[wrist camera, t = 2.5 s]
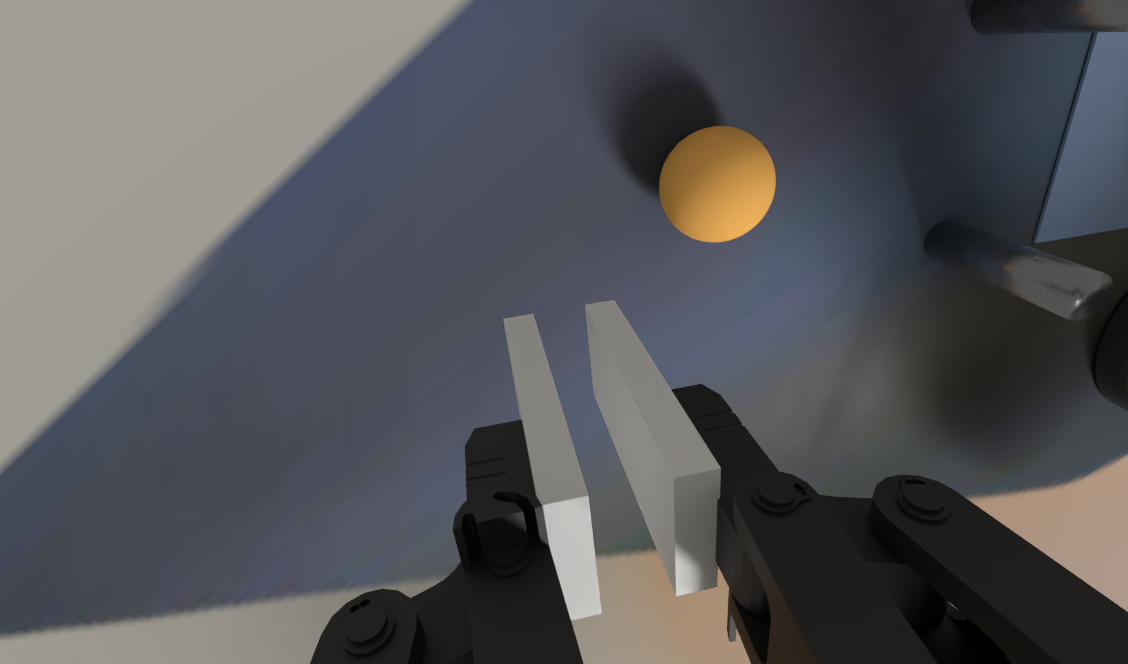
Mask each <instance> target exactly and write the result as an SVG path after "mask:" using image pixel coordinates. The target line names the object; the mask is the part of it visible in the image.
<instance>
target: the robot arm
mask: <svg viewBox="0 0 1128 664" xmlns="http://www.w3.org/2000/svg"><path fill="white" fill-rule="evenodd" d="M585 308H586V319H587V329H588V340H589V350H590V361H591V371H592V382H593V392H594V396H595V398H596V401H597V403H598V406H599V408H600V411H601V413H602V416H603V418H604V420H605V423H606V425H607V428H608V430H609V433H610V435H611V438H612V440H613V443H614V445H615V448H616V450H617V452H618V455H619V457H620V460H621V462H622V465H623V467H624V470H625V472H626V475H627V477H628V480H629V482H630V484H631V487H632V489H633V492H634V494H635V497H636V499H637V502H638V504H639V507H640V509H641V512H642V514H643V516H644V519H645V521H646V524H647V526H648V529H649V531H650V534H651V536H652V539H653V541H654V544H655V546H656V548H657V551H658V553H659V556H660V558H661V561H662V563H663V565H664V568H665V571H666V573H667V575H668V578H669V580H670V583H671V585H672V588H673V590H674V592H675V595H676V596H679V595H684V594H688V593H692V592H696V591H701V590H705V589H710V588H714V587H717V574H718V567H719V569H720V570H721V572H722V574H723V576H724V578H725V580H726V582H727V584H728V586H729V599H728V619H727V632H728V638H729V642H732V641H735V640H736V628H737V630H738V633H739V635H740V637H741V640H742V642H743V645H744V647H745V650H746V652H747V655H748V657H749V659H750V662H751V664H1128V612H1127V611H1125V610H1124V609H1123V608H1121V607H1120V606H1118V605H1117V604H1115V603H1114V602H1113V601H1111V600H1110V599H1108V598H1107V597H1106V596H1104V595H1103V594H1101V593H1100V592H1098V591H1097V590H1096V589H1094V588H1093V587H1091V586H1090V585H1088V584H1087V583H1085V582H1084V581H1083V580H1081V579H1080V578H1078V577H1077V576H1076V575H1074V574H1073V573H1071V572H1070V571H1068V570H1067V569H1066V568H1064V567H1063V566H1061V565H1060V564H1059V563H1057V562H1056V561H1054V560H1053V559H1051V558H1050V557H1049V556H1047V555H1046V554H1044V553H1043V552H1041V551H1040V550H1039V549H1037V548H1036V547H1034V546H1033V545H1032V544H1030V543H1029V542H1027V541H1026V540H1024V539H1023V538H1022V537H1020V536H1019V535H1017V534H1016V533H1014V532H1013V531H1011V530H1010V529H1009V528H1007V527H1006V526H1005V525H1003V524H1002V523H1000V522H999V521H997V520H996V519H994V518H993V517H992V516H990V515H989V514H987V513H986V512H984V511H983V510H982V509H980V508H979V507H977V506H976V505H975V504H973V503H972V502H970V501H969V500H968V499H966V498H965V497H963V496H962V495H960V494H959V493H958V492H956V491H955V490H953V489H951V488H949V487H947V486H945V485H944V484H942V483H940V482H938V481H934V480H931V479H928V478H924V477H921V476H913V475H897V476H892V477H887V478H885V479H884V480H882V481H881V482H880V483H878V484H877V485H876V488H875V491H874V494H873V498H872V499H871V498H849V497H832V496H824V495H819V494H818V493H817V492H816V491H815V490H814V489H813V488H812V487H811V486H810V485H809V484H808V483H807V482H805V481H803V480H801V479H799V478H798V477H796V476H794V475H792V474H788V473H783V472H779V471H778V470H777V468H776V467H775V466H774V464H773V463H772V462H771V460H770V459H769V458H768V457H767V455H766V454H765V453H764V451H763V450H762V449H761V447H760V446H759V445H758V443H757V442H756V441H755V440H754V438H753V437H752V436H751V434H750V433H749V432H748V430H747V429H746V428H745V426H742V423H741V421H740V420H739V419H738V417H737V416H736V415H735V413H732V409H731V408H730V407H729V406H728V404H727V403H726V402H725V400H724V399H723V398H722V396H721V395H719V394H718V393H716V392H714V391H713V390H711V389H709V388H707V387H706V386H704V385H702V384H698V385H693V386H688V387H683V388H677V389H672V390H671V389H670V387H669V386H668V384H667V382H666V381H665V379H664V378H663V376H662V375H661V373H660V371H659V370H658V368H657V367H656V365H655V364H654V362H653V360H652V359H651V357H650V356H649V354H648V352H647V351H646V349H645V348H644V346H643V345H642V343H641V341H640V340H639V338H638V337H637V335H636V334H635V332H634V330H633V329H632V327H631V326H630V324H629V323H628V321H627V319H626V318H625V316H624V315H623V313H622V312H621V310H620V308H619V307H618V305H617V304H616V302H615V300H611V301H605V302H599V303H593V304H587V305H585ZM503 320H504V326H505V332H506V338H507V343H508V349H509V355H510V361H511V367H512V372H513V378H514V384H515V390H516V396H517V402H518V407H519V413H520V418H521V420H518V421H513V422H507V423H502V424H497V425H492V426H486V427H481V428H476V429H474V431H473V432H472V434H471V436H470V438H469V440H468V442H467V444H466V445H465V461H466V481H467V483H466V489H467V501H466V502H465V503H463V505H462V506H461V508H460V509H459V511H458V512H457V514H456V515H455V519H454V525H453V532H454V536H455V540H456V544H457V547H458V551H459V555H460V558H461V562H460V564H459V565H458V566H457V568H456V569H455V570H454V571H453V572H452V573H451V574H450V575H449V576H448V577H447V578H446V579H444V580H443V581H441V582H440V583H438V584H436V585H435V586H433V587H431V588H429V589H428V590H426V591H424V592H422V593H420V594H418V595H416V596H414V597H412V598H409V597H407V596H406V595H404V594H403V593H401V592H400V591H398V590H388V589H379V590H375V591H371V592H367V593H364V594H362V595H360V596H358V597H356V598H355V599H353V600H351V601H349V602H347V603H346V604H345V605H344V606H343V607H342V608H341V609H340V610H339V611H338V612H337V613H335V614H334V615H333V616H332V617H331V619H330V621H329V623H328V624H327V626H326V628H325V629H324V631H323V633H322V634H321V637H320V639H319V642H318V645H317V647H316V650H315V652H314V655H313V657H312V660H311V662H310V664H583V661H582V657H581V654H580V650H579V647H578V643H577V640H576V636H575V633H574V630H573V626H572V623H571V620H575V619H580V618H584V617H588V616H593V615H597V614H601V604H600V595H599V587H598V579H597V578H598V577H597V569H596V560H595V551H594V542H593V533H592V524H591V515H590V506H589V497H588V493H587V490H586V486H585V483H584V480H583V476H582V473H581V470H580V466H579V463H578V460H577V457H576V453H575V450H574V447H573V443H572V440H571V437H570V434H569V430H568V427H567V424H566V420H565V417H564V414H563V410H562V407H561V404H560V401H559V397H558V394H557V391H556V387H555V384H554V381H553V377H552V374H551V371H550V368H549V364H548V361H547V358H546V354H545V351H544V348H543V345H542V341H541V338H540V335H539V331H538V328H537V325H536V321H535V318H534V315H533V314H529V315H523V316H517V317H511V318H505V319H503ZM1095 377H1096V382H1097V385H1098V387H1099V390H1100V391H1101V393H1102V394H1103V395H1104V397H1105V398H1106V399H1108V400H1109V401H1110V402H1112V403H1114V404H1115V405H1117V406H1119V407H1121V408H1123V409H1125V410H1127V411H1128V295H1127V296H1126V298H1125V299H1124V300H1123V302H1122V303H1121V304H1120V306H1119V307H1118V309H1117V310H1116V312H1115V313H1114V315H1113V317H1112V318H1111V320H1110V322H1109V324H1108V326H1107V328H1106V330H1105V332H1104V334H1103V336H1102V339H1101V342H1100V345H1099V348H1098V351H1097V356H1096V362H1095ZM949 602H950V603H951V604H952V605H954V607H953V606H952V605H951V604H950V603H949ZM955 607H956V608H957V609H958V610H957V609H956V608H955Z"/></svg>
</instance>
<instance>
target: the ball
mask: <svg viewBox="0 0 1128 664" xmlns="http://www.w3.org/2000/svg"><path fill="white" fill-rule="evenodd" d="M775 186H776V176H775V169H774V165H773V162H772V159H771V157H770V155H769V153H768V151H767V150H766V148H765V147H764V146H763V144H762V143H761V142H760V141H759V140H757V139H756V138H755V137H754V136H753V135H751V134H749V133H748V132H746V131H743V130H741V129H738V128H734V127H729V126H713V127H708V128H704V129H701V130H698V131H696V132H694V133H692V134H690V135H689V136H687V137H686V138H684V139H683V140H682V141H681V142H679V143H678V144H677V145H676V146H675V148H674V149H673V150H672V151H671V153H670V154H669V155H668V157H667V159H666V161H665V163H664V165H663V168H662V171H661V175H660V181H659V194H660V200H661V204H662V207H663V210H664V212H665V214H666V216H667V217H668V219H669V220H670V222H671V223H672V224H673V225H674V226H675V227H676V228H677V229H678V230H679V231H681V232H682V233H683V234H685V235H687V236H689V237H691V238H693V239H696V240H700V241H705V242H724V241H728V240H731V239H734V238H737V237H739V236H741V235H743V234H745V233H747V232H748V231H750V230H751V229H752V228H753V227H755V226H756V225H757V224H758V223H759V222H760V220H761V219H762V218H763V217H764V215H765V214H766V212H767V211H768V209H769V207H770V205H771V202H772V199H773V196H774V192H775Z"/></svg>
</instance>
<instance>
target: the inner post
mask: <svg viewBox="0 0 1128 664" xmlns="http://www.w3.org/2000/svg"><path fill="white" fill-rule="evenodd" d="M925 251H926V254H927V255H928V256H929V257H930V258H932V259H934V260H937V261H939V262H941V263H943V264H946V265H948V266H950V267H952V268H954V269H957V270H959V271H961V272H963V273H966V274H968V275H970V276H972V277H975V278H977V279H979V280H981V281H983V282H986V283H988V284H990V285H992V286H995V287H997V288H999V289H1001V290H1004V291H1006V292H1008V293H1010V294H1012V295H1015V296H1017V297H1019V298H1021V299H1024V300H1026V301H1028V302H1030V303H1033V304H1035V305H1037V306H1039V307H1041V308H1044V309H1046V310H1048V311H1050V312H1053V313H1055V314H1057V315H1059V316H1061V317H1064V318H1066V319H1068V320H1071V321H1080V320H1084V319H1086V318H1088V317H1090V316H1092V315H1093V314H1095V313H1096V312H1097V311H1098V310H1099V309H1100V308H1101V307H1102V306H1103V305H1104V304H1105V303H1106V301H1107V300H1108V298H1109V296H1110V294H1111V291H1112V279H1111V277H1110V276H1109V275H1108V274H1106V273H1103V272H1100V271H1097V270H1094V269H1092V268H1089V267H1086V266H1083V265H1080V264H1077V263H1075V262H1072V261H1069V260H1066V259H1063V258H1060V257H1057V256H1055V255H1052V254H1049V253H1046V252H1043V251H1040V250H1038V249H1035V248H1032V247H1029V246H1026V245H1023V244H1021V243H1018V242H1015V241H1012V240H1009V239H1006V238H1004V237H1001V236H998V235H995V234H992V233H989V232H987V231H984V230H981V229H978V228H975V227H972V226H970V225H967V224H964V223H961V222H958V221H955V220H946V221H943V222H941V223H939V224H938V225H937V226H935V227H934V228H933V229H932V230H931V232H930V233H929V235H928V237H927V239H926V242H925Z"/></svg>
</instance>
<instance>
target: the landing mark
mask: <svg viewBox="0 0 1128 664" xmlns="http://www.w3.org/2000/svg"><path fill="white" fill-rule="evenodd" d="M1123 228H1128V32H1094V35H1093V39H1092V42H1091V46H1090V49H1089V52H1088V56H1087V59H1086V63H1085V66H1084V70H1083V73H1082V76H1081V80H1080V83H1079V87H1078V90H1077V93H1076V97H1075V100H1074V104H1073V107H1072V111H1071V114H1070V117H1069V121H1068V124H1067V128H1066V131H1065V134H1064V138H1063V141H1062V145H1061V148H1060V152H1059V155H1058V158H1057V162H1056V165H1055V169H1054V172H1053V176H1052V179H1051V182H1050V186H1049V189H1048V193H1047V196H1046V199H1045V203H1044V206H1043V210H1042V213H1041V217H1040V220H1039V223H1038V227H1037V230H1036V234H1035V237H1034V240H1033V243H1035V244H1037V243H1043V242H1049V241H1054V240H1060V239H1066V238H1072V237H1077V236H1083V235H1089V234H1095V233H1100V232H1106V231H1112V230H1118V229H1123Z"/></svg>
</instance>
